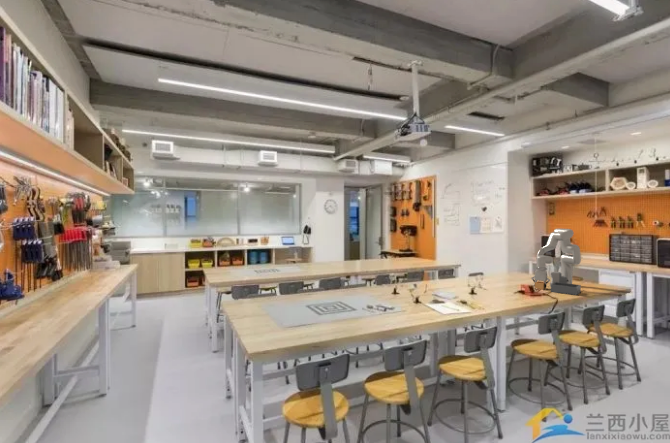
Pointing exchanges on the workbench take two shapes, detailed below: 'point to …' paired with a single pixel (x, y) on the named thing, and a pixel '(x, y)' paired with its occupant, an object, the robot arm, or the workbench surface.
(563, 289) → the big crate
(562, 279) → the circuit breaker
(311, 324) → the workbench surface
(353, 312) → the workbench surface
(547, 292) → the workbench surface
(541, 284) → the small crate
